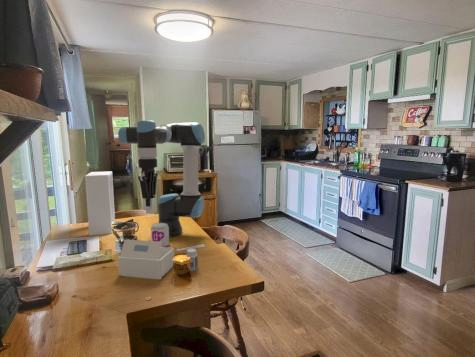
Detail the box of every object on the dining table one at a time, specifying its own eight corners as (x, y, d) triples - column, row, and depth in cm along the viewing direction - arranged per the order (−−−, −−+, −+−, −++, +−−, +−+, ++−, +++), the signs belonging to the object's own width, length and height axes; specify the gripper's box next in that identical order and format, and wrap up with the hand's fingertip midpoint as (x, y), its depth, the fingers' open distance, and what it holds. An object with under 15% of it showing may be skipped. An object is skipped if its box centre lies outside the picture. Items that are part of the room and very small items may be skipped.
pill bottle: (194, 265, 133) (194, 247, 132) (199, 269, 129) (199, 250, 128) (184, 268, 130) (184, 249, 129) (189, 272, 127) (189, 252, 125)
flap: (125, 239, 125) (124, 239, 125) (161, 242, 122) (161, 241, 122) (120, 256, 122) (119, 256, 122) (158, 259, 119) (157, 259, 119)
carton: (136, 261, 137) (135, 245, 136) (175, 265, 134) (174, 247, 133) (118, 275, 123) (117, 257, 122) (161, 279, 120) (160, 260, 119)
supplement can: (165, 259, 140) (164, 227, 139) (149, 257, 142) (147, 226, 140) (172, 252, 148) (171, 223, 146) (156, 251, 150) (155, 222, 148)
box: (95, 225, 196) (91, 171, 191) (115, 223, 200) (112, 171, 195) (89, 235, 176) (84, 175, 171) (111, 233, 179) (108, 175, 174)
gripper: (146, 157, 133) (149, 209, 136) (131, 159, 120) (133, 216, 123) (162, 157, 132) (164, 210, 135) (148, 159, 119) (150, 217, 122)
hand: (149, 213), depth 129 cm, fingers closed
